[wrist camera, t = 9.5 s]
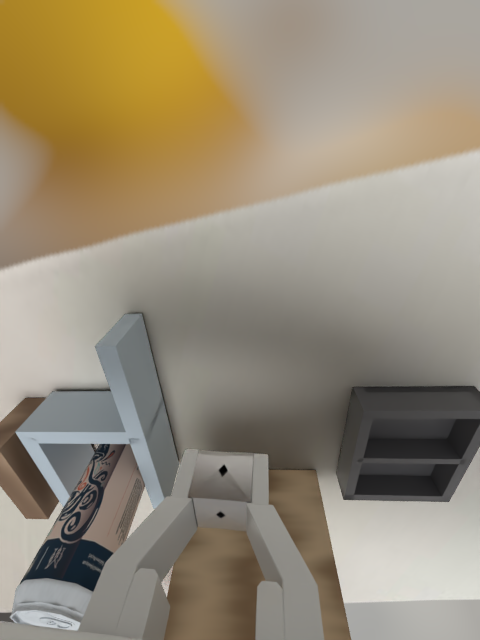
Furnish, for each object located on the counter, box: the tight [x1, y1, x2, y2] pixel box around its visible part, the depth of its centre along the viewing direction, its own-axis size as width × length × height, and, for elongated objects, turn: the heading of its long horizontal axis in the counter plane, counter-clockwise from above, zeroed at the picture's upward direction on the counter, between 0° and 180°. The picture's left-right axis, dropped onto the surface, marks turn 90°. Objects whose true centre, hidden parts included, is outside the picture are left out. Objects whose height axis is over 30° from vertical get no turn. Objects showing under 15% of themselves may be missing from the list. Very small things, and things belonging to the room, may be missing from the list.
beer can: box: [10, 444, 145, 631], centre depth 20 cm, size 5×5×12 cm
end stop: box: [0, 398, 59, 519], centre depth 23 cm, size 2×9×5 cm, turn 3°
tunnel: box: [164, 470, 351, 640], centre depth 18 cm, size 12×10×15 cm
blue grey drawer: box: [15, 314, 179, 509], centre depth 21 cm, size 9×16×4 cm, turn 3°
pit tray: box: [336, 386, 480, 502], centre depth 22 cm, size 9×11×2 cm
